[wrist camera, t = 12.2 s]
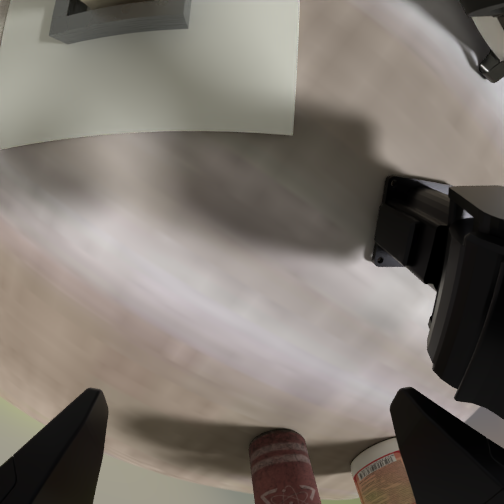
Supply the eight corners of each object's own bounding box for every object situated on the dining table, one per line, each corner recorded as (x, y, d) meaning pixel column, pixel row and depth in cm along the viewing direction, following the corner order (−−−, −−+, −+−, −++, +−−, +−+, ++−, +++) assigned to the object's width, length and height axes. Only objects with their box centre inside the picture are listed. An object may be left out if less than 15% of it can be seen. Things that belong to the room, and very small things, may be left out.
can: (235, 446, 29) (245, 560, 16) (280, 421, 27) (306, 546, 14) (271, 460, 31) (288, 561, 18) (314, 438, 29) (344, 544, 16)
